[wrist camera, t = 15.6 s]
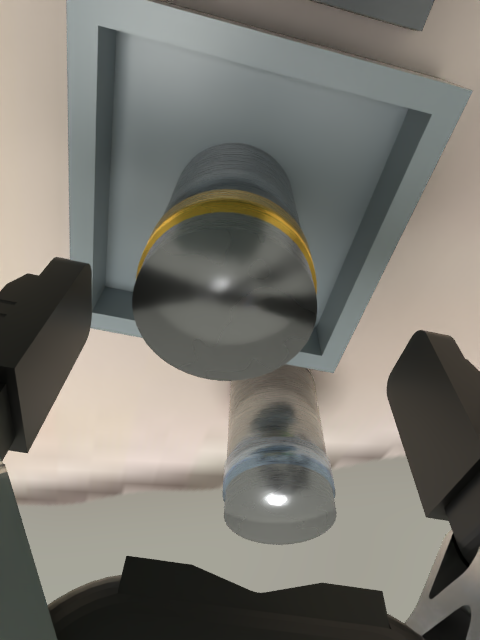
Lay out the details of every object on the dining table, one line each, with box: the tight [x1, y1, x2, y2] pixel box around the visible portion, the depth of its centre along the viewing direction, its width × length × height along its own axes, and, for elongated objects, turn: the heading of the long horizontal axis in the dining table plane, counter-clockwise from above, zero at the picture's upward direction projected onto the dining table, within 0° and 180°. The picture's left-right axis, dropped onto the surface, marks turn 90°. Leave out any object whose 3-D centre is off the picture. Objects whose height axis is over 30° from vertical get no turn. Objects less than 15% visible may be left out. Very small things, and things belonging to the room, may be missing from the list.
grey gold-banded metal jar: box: [132, 143, 317, 381], centre depth 13 cm, size 5×5×7 cm
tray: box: [66, 0, 472, 373], centre depth 15 cm, size 11×11×2 cm
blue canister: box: [223, 364, 336, 545], centre depth 20 cm, size 5×5×7 cm
